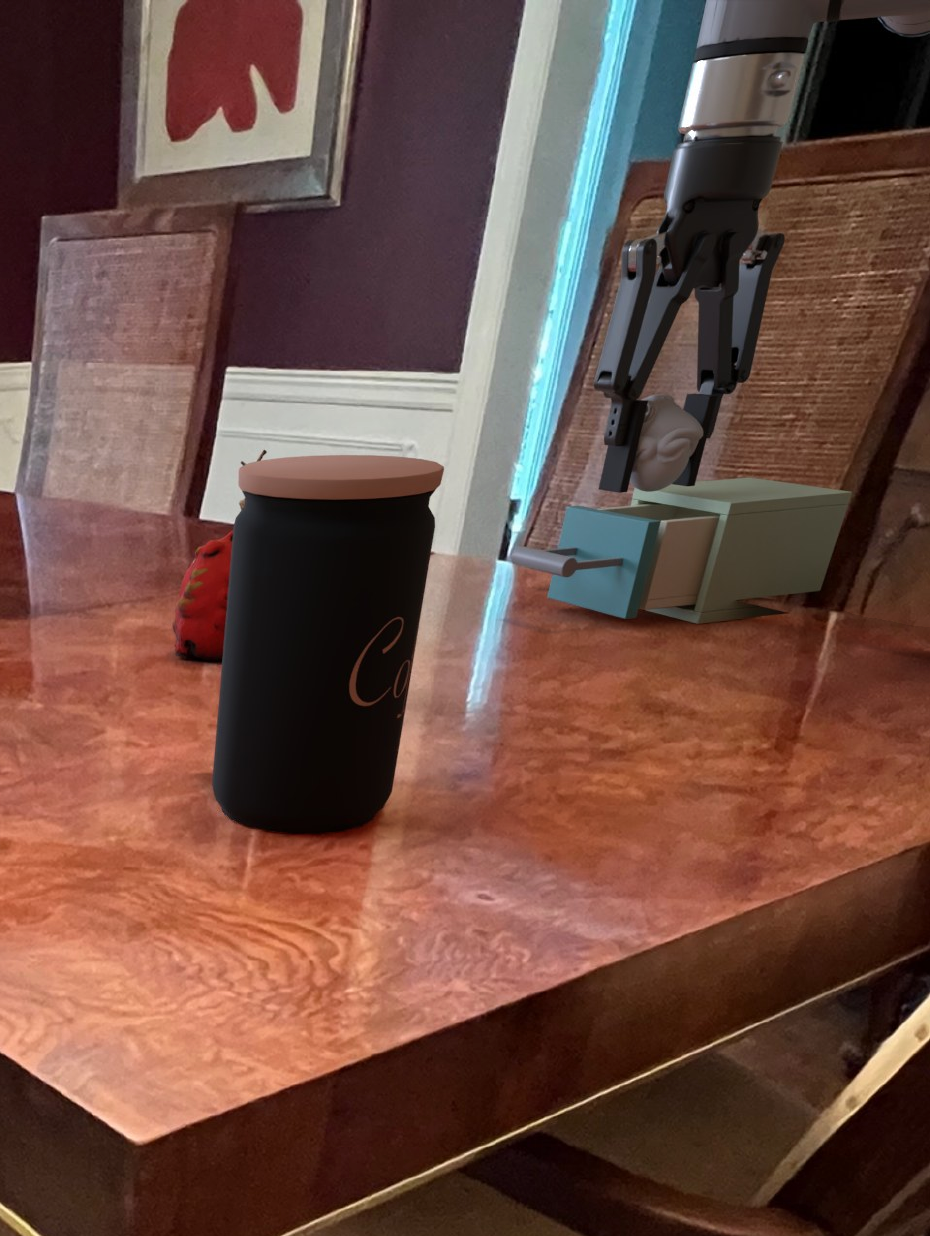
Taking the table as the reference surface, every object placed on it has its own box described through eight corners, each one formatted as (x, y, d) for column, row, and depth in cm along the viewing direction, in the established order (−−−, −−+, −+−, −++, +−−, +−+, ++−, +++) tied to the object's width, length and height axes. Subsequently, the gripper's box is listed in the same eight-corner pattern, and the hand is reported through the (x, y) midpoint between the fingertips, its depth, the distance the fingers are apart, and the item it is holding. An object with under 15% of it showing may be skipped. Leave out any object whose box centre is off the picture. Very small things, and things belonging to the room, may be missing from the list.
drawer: (564, 626, 116) (586, 527, 112) (489, 604, 124) (506, 511, 120) (734, 606, 120) (761, 511, 116) (650, 586, 128) (673, 496, 124)
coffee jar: (354, 849, 77) (409, 482, 66) (181, 822, 82) (206, 474, 71) (411, 797, 84) (469, 457, 73) (249, 774, 89) (281, 452, 78)
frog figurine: (616, 485, 121) (637, 391, 116) (699, 488, 117) (724, 391, 113) (592, 493, 117) (613, 396, 113) (677, 497, 113) (701, 397, 109)
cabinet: (697, 624, 119) (731, 503, 114) (607, 600, 128) (634, 487, 123) (814, 610, 122) (852, 491, 117) (718, 588, 131) (749, 477, 126)
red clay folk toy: (199, 642, 120) (214, 442, 111) (272, 650, 116) (294, 445, 107) (157, 659, 115) (169, 452, 106) (232, 668, 112) (251, 455, 102)
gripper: (659, 133, 98) (581, 501, 112) (871, 128, 102) (770, 483, 116) (590, 142, 104) (524, 491, 118) (793, 137, 108) (706, 474, 122)
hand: (646, 487), depth 117 cm, fingers closed on frog figurine, 6 cm apart
